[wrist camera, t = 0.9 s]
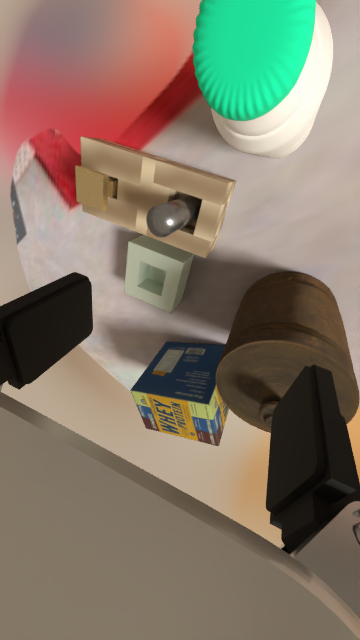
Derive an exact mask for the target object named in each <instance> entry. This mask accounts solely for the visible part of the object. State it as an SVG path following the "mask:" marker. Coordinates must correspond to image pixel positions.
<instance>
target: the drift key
mask: <svg viewBox="0 0 360 640" xmlns="http://www.w3.org/2000/svg"><path fill="white" fill-rule="evenodd" d="M75 173H76V196H77V202H79V203H82V204H85V205H87V206H90V207H92V208H95V209H98V210H100V211H107V204H108V197H112V196H117V189H118V180H116V179H113V178H110V177H108V175H107V174H104V173H101V172H98V171H95V170H92V169H89V168H86V167H84V166H81V165H77V166H75Z"/></svg>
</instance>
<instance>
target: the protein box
mask: <svg viewBox="0 0 360 640" xmlns="http://www.w3.org/2000/svg"><path fill="white" fill-rule="evenodd" d="M225 346H226V345H210V344H195V343H180V342H166V343H165V345H164V346H163V347H162V349H161V350H160V351H159V353H158V354H157V355H156V357H155V358H154V359H153V361H152V362H151V363H150V365H149V366H148V367H147V369H146V370H145V371H144V373H143V374H142V375H141V377H140V378H139V379H138V381H137V382H136V383H135V385H134V386H133V387H132V389H131V390H130V391H131V393H132V395H133V397H134V400H135V402H136V404H137V407H138V409H139V412H140V414H141V417H142V419H143V422H144V424H145V427H146V428H147V429H151V430H156V431H160V432H164V433H168V434H172V435H176V436H180V437H184V438H187V439H191V440H196V441H200V442H204V443H208V444H212V445H215V446H219V443H220V439H221V436H222V432H223V429H224V425H225V421H226V418H227V414H228V411H229V408H228V407H227V405H226V404H225V403H224V401H223V400H222V398H221V396H220V394H219V392H218V389H217V385H216V372H217V368H218V364H219V361H220V358H221V355H222V353H223V351H224V349H225Z"/></svg>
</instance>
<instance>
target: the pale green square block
mask: <svg viewBox="0 0 360 640" xmlns="http://www.w3.org/2000/svg"><path fill="white" fill-rule="evenodd" d="M193 257H194V254H193V253H190V252H187V251H185V250H182V249H180V248H177V247H175V246H172V245H169V244H167V243H164V242H162V241H159V240H156V239H154V238H151V237H149V236H146V235H141V236H139V237H137V238H135V239H133V240H130V241H129V242H128V253H127V264H126V275H125V287H124V293H127V294H129V295H131V296H133V297H136V298H138V299H140V300H142V301H145V302H147V303H149V304H151V305H154V306H156V307H158V308H160V309H163V310H165V311H167V312H169V313H172V312H173V311H174V309H175V308H176V307H177V306H178V305H179V303H180V302H181V301H182V298H183V294H184V290H185V287H186V283H187V279H188V276H189V272H190V268H191V265H192V261H193Z"/></svg>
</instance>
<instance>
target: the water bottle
mask: <svg viewBox="0 0 360 640" xmlns="http://www.w3.org/2000/svg"><path fill="white" fill-rule="evenodd" d="M193 36H194V44H193V54H194V58H193V64H194V67H195V75H196V78H197V80H198V85H199V88H200V89H201V91H202V93H203V96H204V98H205V99H206V101H207V102H208V104H209V106H210V107H211V112H212V116H213V119H214V122H215V125H216V127H217V129H218V131H219V133H220V134H221V136H222V137H223V138H224V140H225V141H226V142H227V143H228V144H230V145H231V146H232V147H234V148H235V149H237V150H239V151H242V152H245V153H250V154H255V155H260V156H264V157H268V158H280V157H284V156H286V155H288V154H290V153H292V152H293V151H295V150H296V149H297V148H298V147H299V146H300V145H301V144H302V143H303V142H304V140H305V139H306V138H307V136H308V134H309V133H310V131H311V128H312V126H313V123H314V120H315V117H316V114H317V112H318V109H319V107H320V104H321V101H322V99H323V96H324V94H325V91H326V89H327V86H328V82H329V78H330V74H331V69H332V61H333V41H332V34H331V29H330V26H329V23H328V20H327V17H326V15H325V14H324V12H323V10H322V9H321V7H320V6H319V5H318V3H317V2H316V0H202V2H201V3H200V13H199V15H198V16H197V18H196V29H195V31H194V35H193Z"/></svg>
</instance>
